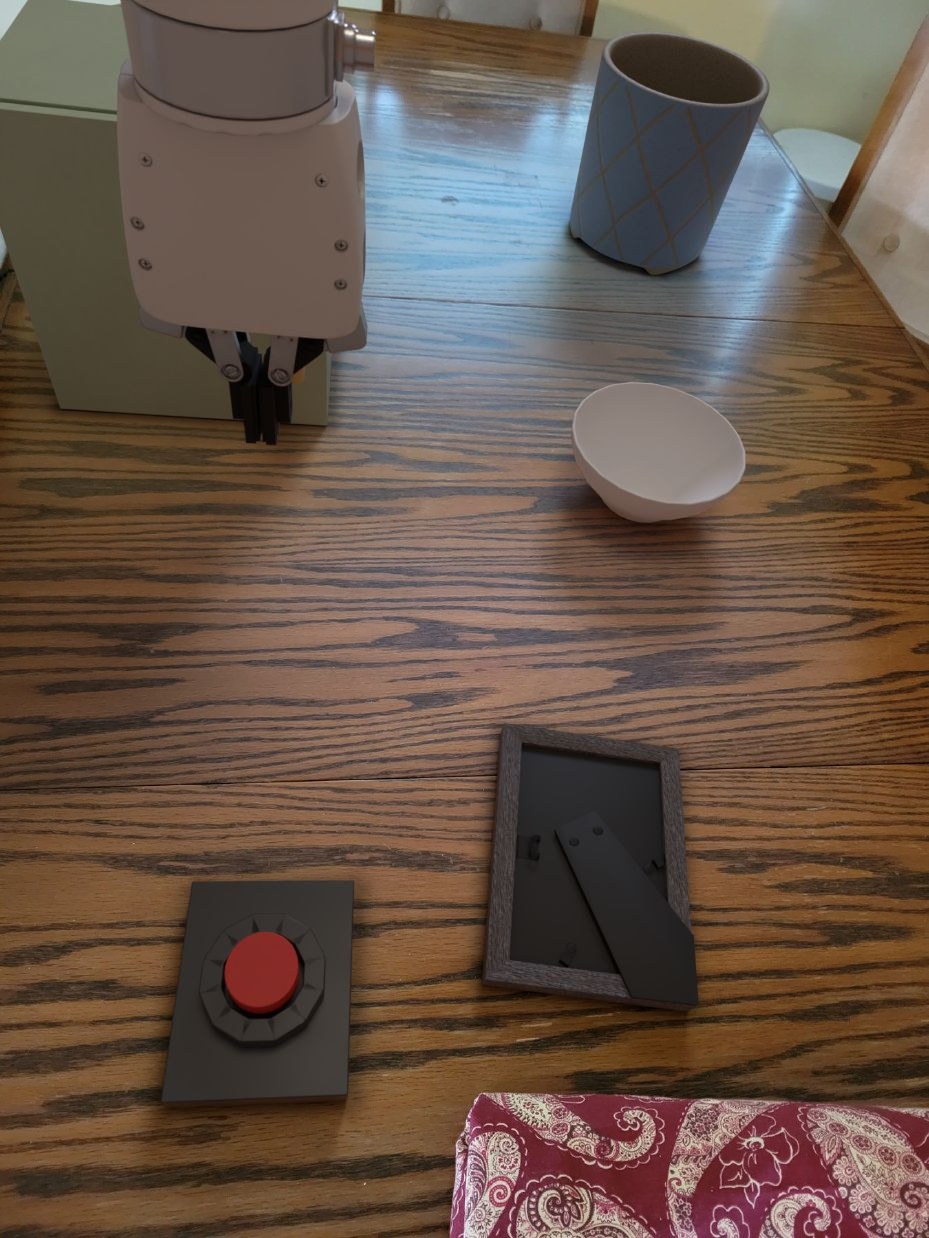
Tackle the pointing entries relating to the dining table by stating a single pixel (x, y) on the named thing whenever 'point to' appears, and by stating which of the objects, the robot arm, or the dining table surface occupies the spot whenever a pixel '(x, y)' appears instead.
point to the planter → (663, 146)
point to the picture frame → (589, 871)
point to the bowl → (655, 451)
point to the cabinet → (67, 60)
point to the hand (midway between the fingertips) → (264, 426)
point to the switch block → (272, 1042)
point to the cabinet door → (102, 278)
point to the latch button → (262, 972)
